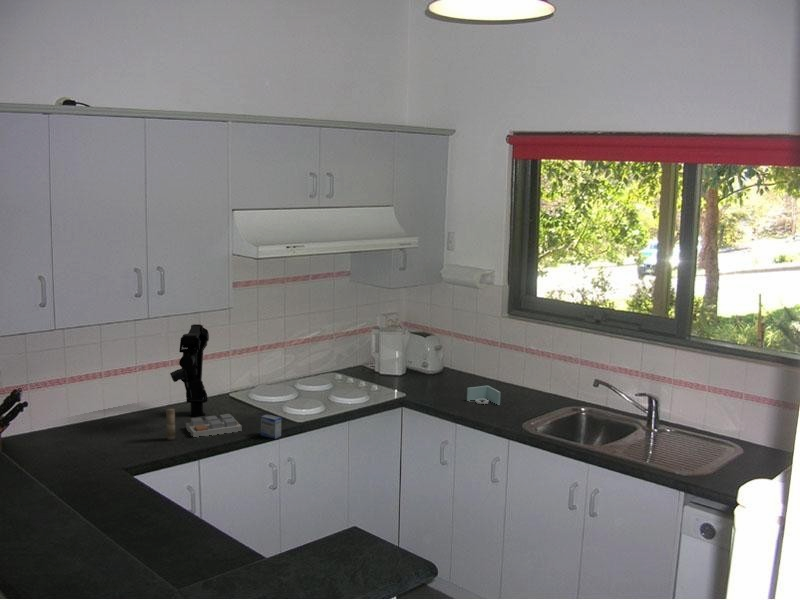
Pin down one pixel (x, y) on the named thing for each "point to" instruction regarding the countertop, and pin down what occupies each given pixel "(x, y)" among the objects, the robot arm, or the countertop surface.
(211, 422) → the keypad
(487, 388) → the l-shaped corner panel
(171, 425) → the tan banded cylinder
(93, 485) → the countertop surface
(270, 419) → the medicine box
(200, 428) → the terracotta key
